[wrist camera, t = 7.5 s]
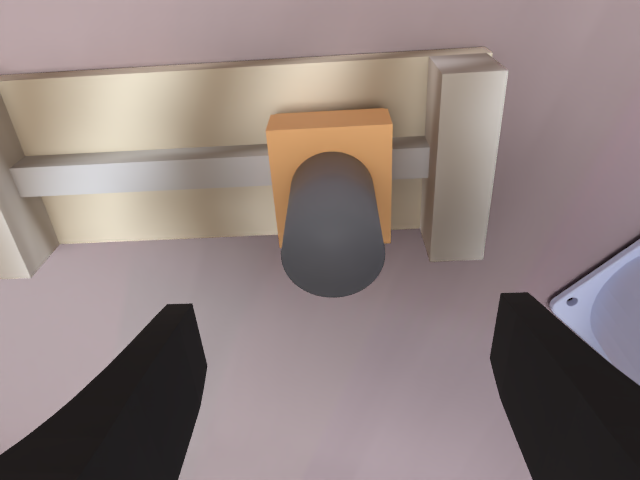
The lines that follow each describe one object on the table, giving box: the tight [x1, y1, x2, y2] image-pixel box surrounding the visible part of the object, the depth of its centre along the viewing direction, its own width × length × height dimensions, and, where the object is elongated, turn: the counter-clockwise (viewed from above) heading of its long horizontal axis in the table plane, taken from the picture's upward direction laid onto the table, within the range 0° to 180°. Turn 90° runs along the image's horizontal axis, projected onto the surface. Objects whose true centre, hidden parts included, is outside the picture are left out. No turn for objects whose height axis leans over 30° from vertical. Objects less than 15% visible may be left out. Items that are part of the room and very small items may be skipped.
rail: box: [0, 47, 508, 279], centre depth 19 cm, size 20×7×4 cm, turn 93°
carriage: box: [266, 108, 393, 297], centre depth 16 cm, size 4×4×7 cm
